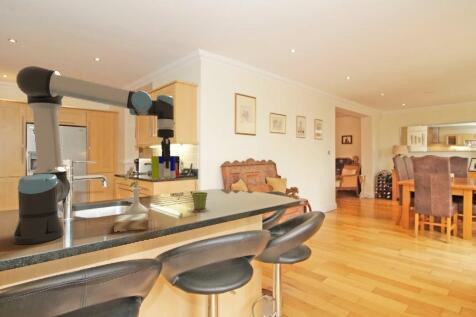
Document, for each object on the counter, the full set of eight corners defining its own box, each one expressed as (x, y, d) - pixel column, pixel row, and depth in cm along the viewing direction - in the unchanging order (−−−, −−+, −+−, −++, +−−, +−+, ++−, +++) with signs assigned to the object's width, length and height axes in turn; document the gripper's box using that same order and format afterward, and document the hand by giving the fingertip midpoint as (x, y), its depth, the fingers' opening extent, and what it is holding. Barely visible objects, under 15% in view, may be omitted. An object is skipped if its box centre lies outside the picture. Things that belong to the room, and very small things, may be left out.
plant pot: (188, 209, 152) (188, 194, 152) (196, 206, 161) (195, 191, 161) (203, 210, 149) (203, 194, 149) (210, 207, 158) (210, 192, 158)
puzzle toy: (173, 178, 123) (173, 156, 123) (151, 178, 123) (151, 156, 123) (179, 176, 133) (179, 156, 133) (159, 176, 133) (159, 156, 133)
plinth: (114, 232, 108) (113, 222, 108) (116, 224, 121) (116, 215, 121) (148, 228, 113) (148, 219, 113) (147, 221, 125) (147, 212, 125)
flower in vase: (134, 212, 146) (133, 165, 145) (152, 213, 143) (152, 165, 142) (117, 217, 133) (116, 166, 133) (137, 219, 130) (136, 166, 130)
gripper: (176, 126, 118) (177, 176, 118) (171, 131, 141) (171, 173, 141) (158, 126, 115) (159, 177, 115) (155, 131, 138) (156, 173, 138)
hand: (165, 175), depth 128 cm, fingers closed on puzzle toy, 12 cm apart
